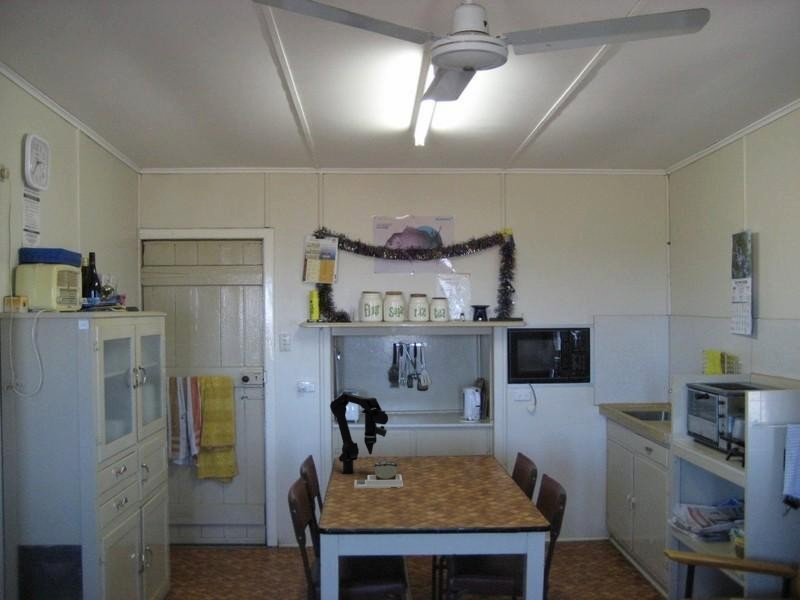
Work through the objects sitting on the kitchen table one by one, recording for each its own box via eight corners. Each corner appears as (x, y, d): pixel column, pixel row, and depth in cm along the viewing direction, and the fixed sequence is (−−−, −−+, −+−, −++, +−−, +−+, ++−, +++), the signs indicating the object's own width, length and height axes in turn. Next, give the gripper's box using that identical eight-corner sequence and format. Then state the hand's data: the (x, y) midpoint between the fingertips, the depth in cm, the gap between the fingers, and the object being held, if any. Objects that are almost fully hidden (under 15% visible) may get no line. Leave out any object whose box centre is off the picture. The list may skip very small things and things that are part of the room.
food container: (397, 479, 326) (397, 460, 326) (398, 483, 319) (398, 462, 320) (373, 480, 325) (373, 460, 325) (373, 483, 319) (373, 463, 319)
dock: (354, 481, 326) (354, 475, 326) (402, 481, 327) (402, 474, 327) (354, 488, 314) (354, 481, 314) (403, 487, 315) (403, 480, 315)
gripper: (386, 425, 326) (386, 456, 325) (385, 419, 344) (385, 448, 344) (364, 425, 325) (364, 456, 325) (364, 419, 344) (364, 448, 344)
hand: (370, 452), depth 334 cm, fingers open, 9 cm apart
